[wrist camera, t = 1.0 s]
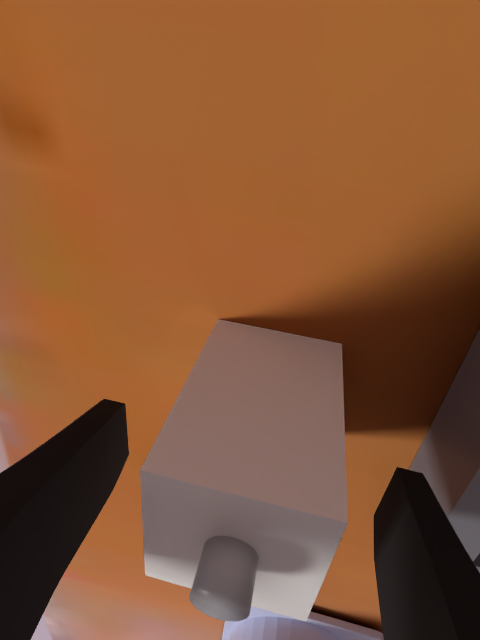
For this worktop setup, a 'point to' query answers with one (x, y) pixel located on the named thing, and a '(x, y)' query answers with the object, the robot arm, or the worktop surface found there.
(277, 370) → the charger block
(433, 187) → the worktop surface
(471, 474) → the power strip
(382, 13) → the worktop surface
